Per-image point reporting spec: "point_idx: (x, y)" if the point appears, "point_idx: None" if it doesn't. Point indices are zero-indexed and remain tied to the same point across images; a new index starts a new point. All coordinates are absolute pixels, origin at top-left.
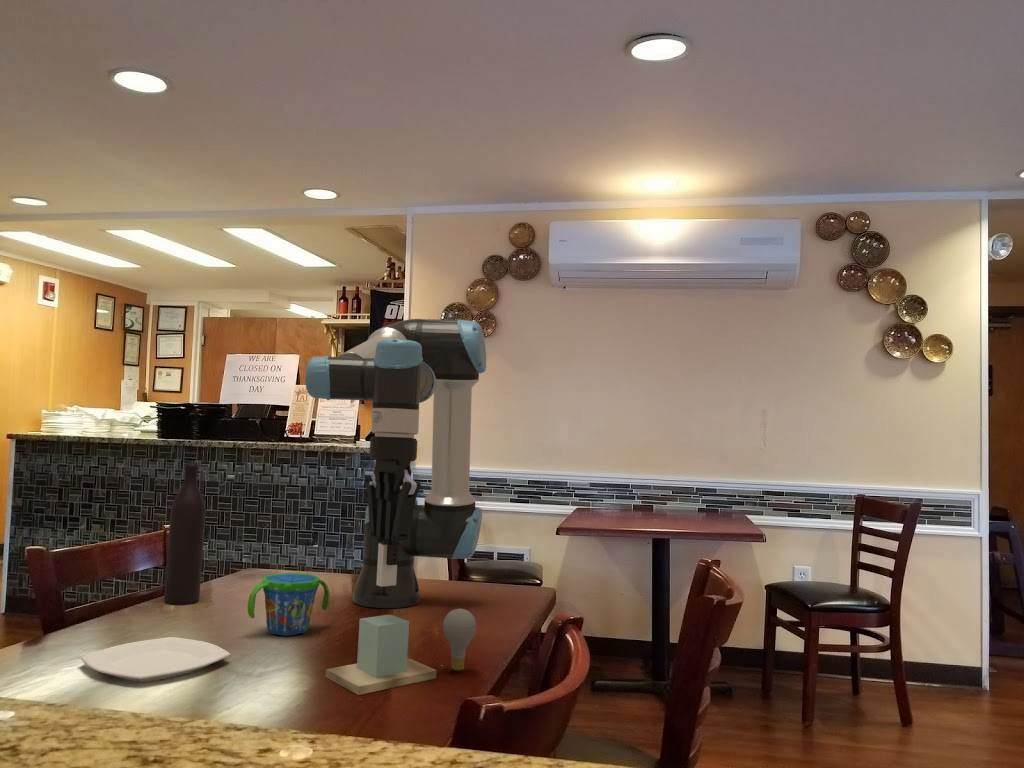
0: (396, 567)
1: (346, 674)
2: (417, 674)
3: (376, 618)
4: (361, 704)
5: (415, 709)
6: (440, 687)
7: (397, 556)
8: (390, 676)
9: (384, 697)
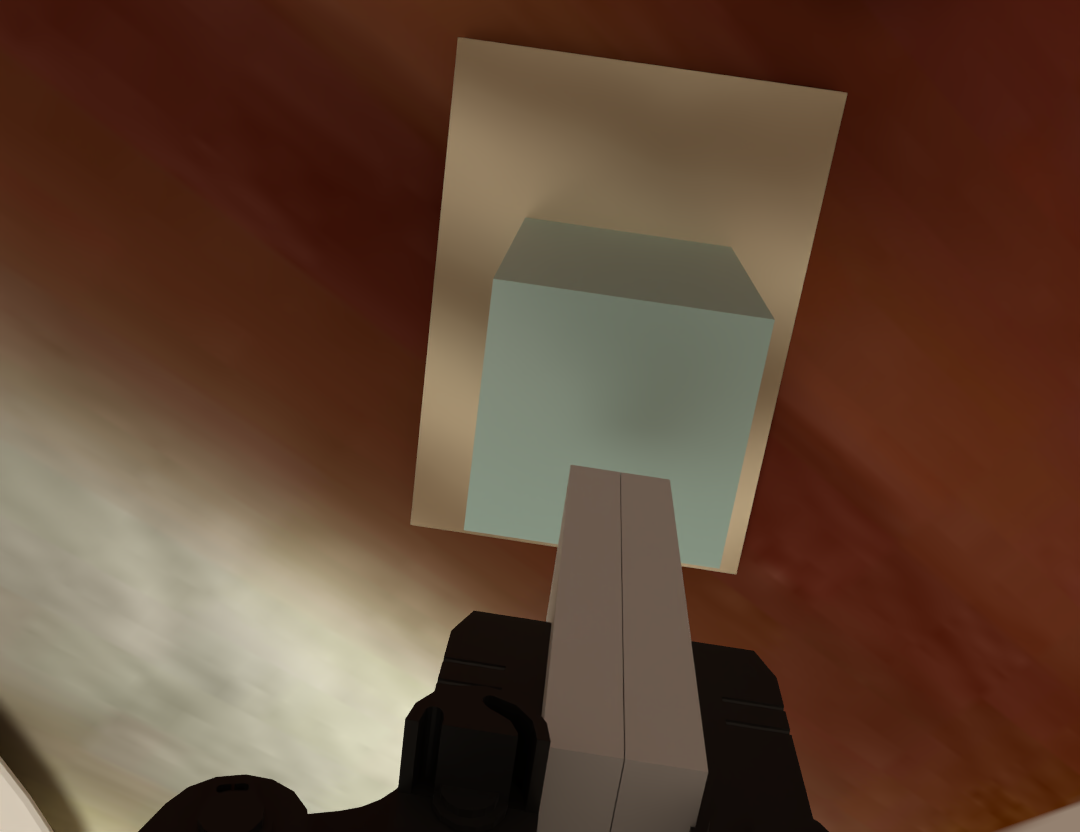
0: (677, 573)
1: None
2: (812, 234)
3: (536, 441)
4: (830, 613)
5: (1067, 497)
6: (961, 188)
7: (783, 733)
8: None
9: (842, 492)
